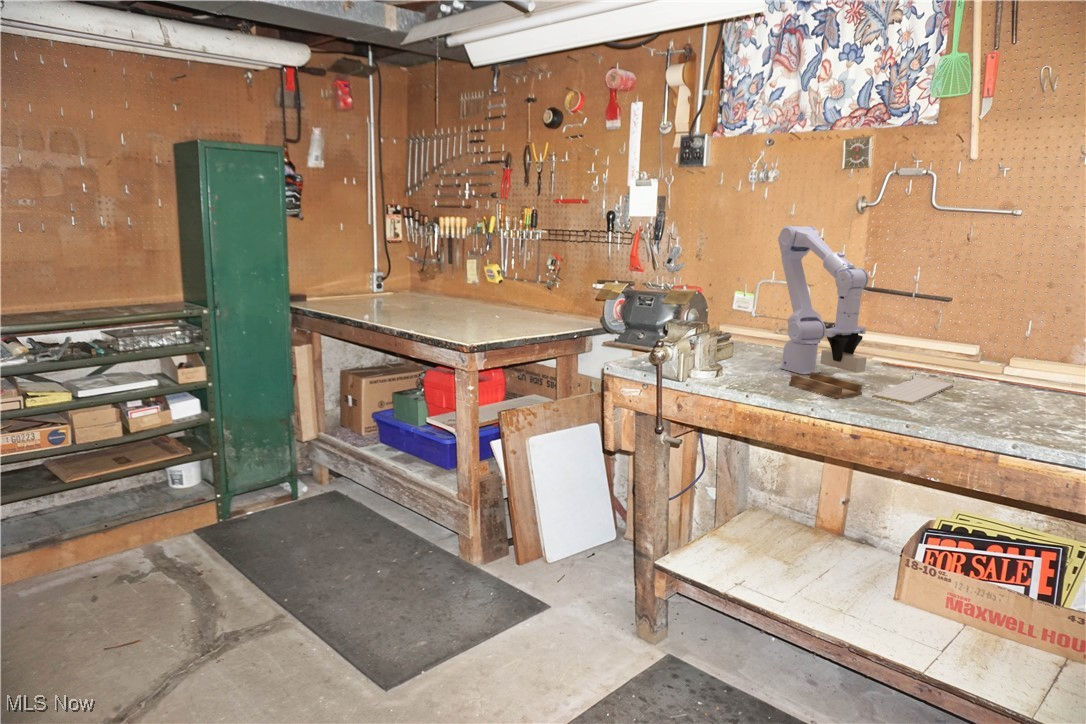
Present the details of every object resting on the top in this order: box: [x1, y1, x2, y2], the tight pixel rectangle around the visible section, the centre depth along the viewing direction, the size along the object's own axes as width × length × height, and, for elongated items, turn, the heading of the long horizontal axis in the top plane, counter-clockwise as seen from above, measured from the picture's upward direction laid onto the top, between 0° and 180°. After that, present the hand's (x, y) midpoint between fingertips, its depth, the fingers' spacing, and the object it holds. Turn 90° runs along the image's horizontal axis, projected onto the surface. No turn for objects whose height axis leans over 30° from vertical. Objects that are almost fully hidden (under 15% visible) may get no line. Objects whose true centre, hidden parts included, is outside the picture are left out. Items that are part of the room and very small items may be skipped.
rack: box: [788, 372, 863, 399], centre depth 186 cm, size 16×9×3 cm, turn 28°
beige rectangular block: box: [819, 348, 868, 374], centre depth 193 cm, size 12×4×4 cm, turn 28°
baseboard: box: [869, 373, 955, 406], centre depth 188 cm, size 31×3×12 cm
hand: (841, 360), depth 194 cm, fingers closed on beige rectangular block, 4 cm apart
